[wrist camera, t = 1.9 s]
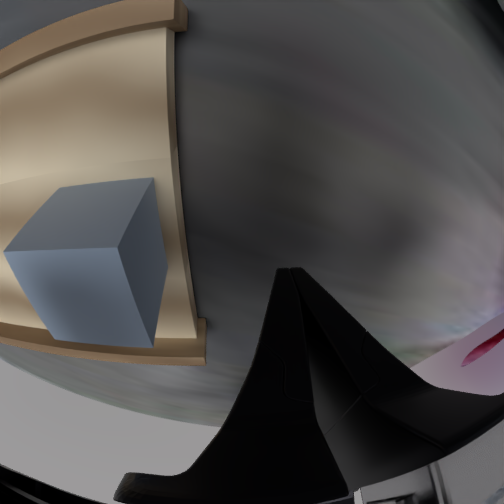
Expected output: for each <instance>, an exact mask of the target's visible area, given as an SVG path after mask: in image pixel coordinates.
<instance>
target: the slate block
mask: <svg viewBox="0 0 504 504" xmlns="http://www.w3.org/2000/svg"><path fill="white" fill-rule="evenodd" d="M3 253H4V255H5V257H6V259H7V261H8V263H9V265H10V267H11V269H12V271H13V273H14V275H15V277H16V279H17V281H18V282H19V284H20V286H21V288H22V290H23V291H24V293H25V295H26V296H27V298H28V300H29V301H30V303H31V305H32V306H33V308H34V309H35V311H36V313H37V314H38V316H39V317H40V319H41V320H42V322H43V323H44V325H45V326H46V328H47V329H48V331H49V332H50V333H51V335H52V336H53V338H54V339H55V340H63V341H71V342H79V343H89V344H99V345H111V346H124V347H142V348H153V347H154V340H155V334H156V328H157V322H158V316H159V311H160V305H161V300H162V295H163V290H164V285H165V280H166V275H167V270H168V264H167V259H166V253H165V248H164V242H163V237H162V231H161V225H160V219H159V213H158V206H157V199H156V192H155V185H154V177H151V178H138V179H127V180H117V181H107V182H99V183H90V184H83V185H75V186H68V187H61V188H59V189H58V190H57V191H56V192H55V193H54V194H53V195H52V196H51V197H50V198H49V199H48V200H47V201H46V202H45V203H44V204H43V205H42V206H41V207H40V208H39V209H38V210H37V212H36V213H35V214H34V215H33V216H32V217H31V218H30V219H29V220H28V222H27V223H26V224H25V225H24V226H23V227H22V229H21V230H20V231H19V232H18V233H17V235H16V236H15V237H14V238H13V240H12V241H11V242H10V243H9V245H8V246H7V247H6V249H5V250H4V251H3Z"/></svg>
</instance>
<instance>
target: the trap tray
mask: <svg viewBox="0 0 504 504" xmlns="http://www.w3.org/2000/svg"><path fill="white" fill-rule="evenodd" d="M187 22H188V9H187V7H186V6H185V5H184V3H183V2H182V0H124V1H120V2H116V3H112V4H108V5H105V6H101V7H98V8H94V9H91V10H88V11H85V12H82V13H79V14H76V15H74V16H71V17H68V18H66V19H63V20H61V21H58V22H56V23H53V24H51V25H49V26H46V27H44V28H42V29H40V30H37V31H35V32H33V33H31V34H29V35H27V36H25V37H23V38H21V39H19V40H18V41H16V42H14V43H12V44H10V45H9V46H7V47H5V48H3V49H2V50H0V343H4V344H8V345H12V346H17V347H21V348H26V349H31V350H36V351H41V352H46V353H52V354H58V355H64V356H70V357H77V358H85V359H93V360H102V361H111V362H123V363H136V364H153V365H182V366H206V334H207V326H206V319H205V318H198V317H197V311H196V305H195V299H194V292H193V286H192V279H191V272H190V265H189V258H188V250H187V242H186V234H185V226H184V217H183V207H182V197H181V187H180V175H179V163H178V149H177V132H176V112H175V80H174V33H175V32H182V31H187ZM151 177H154V185H155V192H156V199H157V206H158V213H159V219H160V225H161V231H162V237H163V242H164V248H165V253H166V259H167V264H168V270H167V275H166V280H165V285H164V290H163V295H162V300H161V305H160V311H159V316H158V322H157V328H156V334H155V340H154V347H153V348H142V347H124V346H111V345H99V344H89V343H79V342H71V341H63V340H55V339H54V338H53V336H52V335H51V333H50V332H49V331H48V329H47V328H46V326H45V325H44V323H43V322H42V320H41V319H40V317H39V316H38V314H37V313H36V311H35V309H34V308H33V306H32V305H31V303H30V301H29V300H28V298H27V296H26V295H25V293H24V291H23V290H22V288H21V286H20V284H19V282H18V281H17V279H16V277H15V275H14V273H13V271H12V269H11V267H10V265H9V263H8V261H7V259H6V257H5V255H4V253H3V251H4V250H5V249H6V247H7V246H8V245H9V243H10V242H11V241H12V240H13V238H14V237H15V236H16V235H17V233H18V232H19V231H20V230H21V229H22V227H23V226H24V225H25V224H26V223H27V222H28V220H29V219H30V218H31V217H32V216H33V215H34V214H35V213H36V212H37V210H38V209H39V208H40V207H41V206H42V205H43V204H44V203H45V202H46V201H47V200H48V199H49V198H50V197H51V196H52V195H53V194H54V193H55V192H56V191H57V190H58V189H59V188H61V187H68V186H75V185H83V184H90V183H99V182H107V181H117V180H127V179H138V178H151Z"/></svg>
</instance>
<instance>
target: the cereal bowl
mask: <svg viewBox="0 0 504 504" xmlns="http://www.w3.org/2000/svg"><path fill="white" fill-rule="evenodd" d="M497 1H498V3H499V5H500V6H501V8H502V10H503V11H504V0H497Z"/></svg>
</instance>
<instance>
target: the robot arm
mask: <svg viewBox="0 0 504 504" xmlns="http://www.w3.org/2000/svg"><path fill="white" fill-rule="evenodd" d="M359 488H360V490H361V495H362V500H363V504H504V393H502V394H500V395H494V396H488V395H479V394H472V393H466V392H460V391H454V390H448V389H443V388H438V387H435V386H433V385H431V384H429V383H427V382H426V381H424V380H423V379H422V378H421V377H419V376H418V375H417V374H416V373H414V372H413V371H412V370H411V369H410V368H408V367H407V366H406V365H405V364H403V363H402V362H401V361H400V360H398V359H397V358H396V357H395V356H394V355H393V354H391V353H390V352H389V351H388V350H387V349H386V348H384V347H383V346H382V345H381V344H380V343H379V342H378V341H377V340H376V339H375V338H374V337H373V336H372V335H371V334H370V333H369V332H368V331H367V332H366V329H365V328H364V327H363V326H362V325H361V324H360V323H359V322H358V321H357V320H356V319H355V318H354V317H353V316H352V315H351V314H350V313H349V312H347V311H346V310H345V309H344V308H343V307H342V306H341V305H340V304H339V303H338V302H337V301H336V300H335V299H334V298H333V297H332V296H331V295H330V294H329V293H328V292H327V291H326V290H325V289H324V288H323V287H322V286H321V285H320V284H319V283H318V282H317V281H315V280H314V279H313V278H312V277H311V276H310V275H309V274H308V273H307V272H306V271H305V270H304V269H303V268H301V267H295V268H290V269H289V268H278V269H277V270H276V274H275V278H274V282H273V286H272V290H271V294H270V298H269V302H268V306H267V310H266V314H265V318H264V322H263V326H262V330H261V334H260V338H259V342H258V345H257V348H256V352H255V355H254V359H253V362H252V365H251V368H250V370H249V372H248V375H247V377H246V379H245V382H244V384H243V386H242V388H241V390H240V392H239V394H238V396H237V398H236V401H235V403H234V405H233V407H232V409H231V411H230V413H229V415H228V417H227V419H226V420H225V422H224V424H223V426H222V427H221V429H220V430H219V432H218V433H217V435H216V436H215V437H214V438H213V439H212V441H211V442H210V444H209V445H208V446H207V447H206V448H205V450H204V451H203V452H202V453H201V455H200V456H199V457H198V458H197V460H196V461H195V462H194V463H193V465H192V466H191V467H190V468H189V469H188V470H187V471H185V472H183V473H181V474H178V475H174V476H162V475H154V474H145V473H131V472H130V473H126V474H125V475H124V477H123V479H122V481H121V483H120V484H119V486H118V488H117V490H116V492H115V494H114V498H113V499H114V500H115V501H118V502H121V503H125V504H355V503H354V492H356V491H358V489H359ZM0 504H106V503H102V502H99V501H95V500H92V499H88V498H85V497H82V496H79V495H76V494H72V493H70V492H67V491H64V490H62V489H59V488H56V487H54V486H51V485H49V484H46V483H44V482H41V481H39V480H36V479H34V478H31V477H29V476H27V475H24V474H22V473H20V472H17V471H15V470H13V469H10V468H8V467H6V466H4V465H1V464H0Z"/></svg>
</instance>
